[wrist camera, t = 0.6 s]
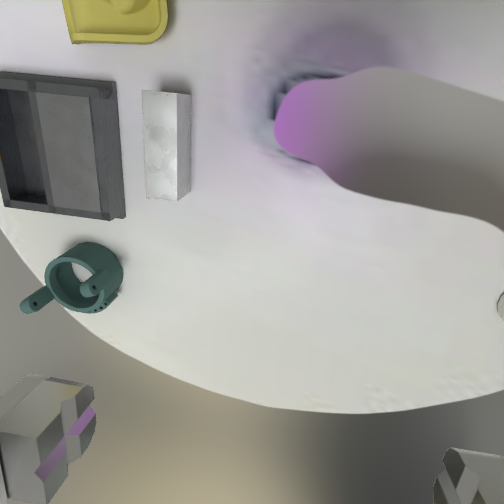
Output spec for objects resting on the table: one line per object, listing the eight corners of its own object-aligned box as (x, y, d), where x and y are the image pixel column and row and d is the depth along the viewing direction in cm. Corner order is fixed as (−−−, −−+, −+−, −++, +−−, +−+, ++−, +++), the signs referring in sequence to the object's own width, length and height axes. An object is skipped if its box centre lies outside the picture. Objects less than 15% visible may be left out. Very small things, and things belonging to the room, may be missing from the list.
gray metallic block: (160, 91, 37) (141, 89, 33) (191, 95, 37) (176, 93, 32) (163, 187, 42) (146, 197, 37) (190, 191, 41) (177, 201, 37)
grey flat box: (2, 71, 38) (-33, 67, 34) (115, 82, 37) (93, 79, 33) (28, 204, 45) (1, 213, 41) (125, 217, 44) (108, 227, 40)
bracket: (62, 276, 49) (15, 310, 41) (79, 228, 45) (32, 255, 37) (115, 306, 50) (80, 345, 42) (137, 261, 46) (103, 294, 38)
